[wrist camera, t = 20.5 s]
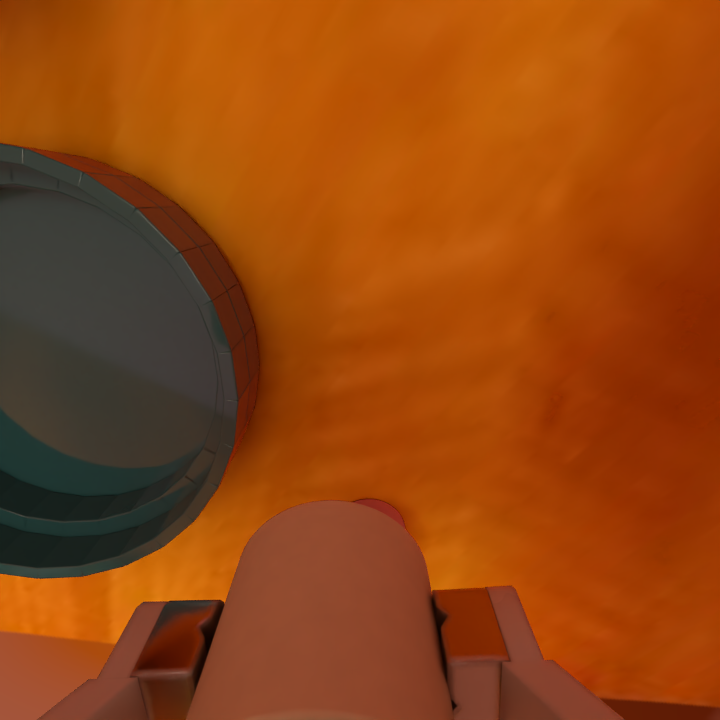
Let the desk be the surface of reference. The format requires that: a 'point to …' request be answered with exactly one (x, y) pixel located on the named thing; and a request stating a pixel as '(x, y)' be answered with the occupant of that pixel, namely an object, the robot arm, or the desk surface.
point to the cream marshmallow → (326, 624)
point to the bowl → (110, 366)
